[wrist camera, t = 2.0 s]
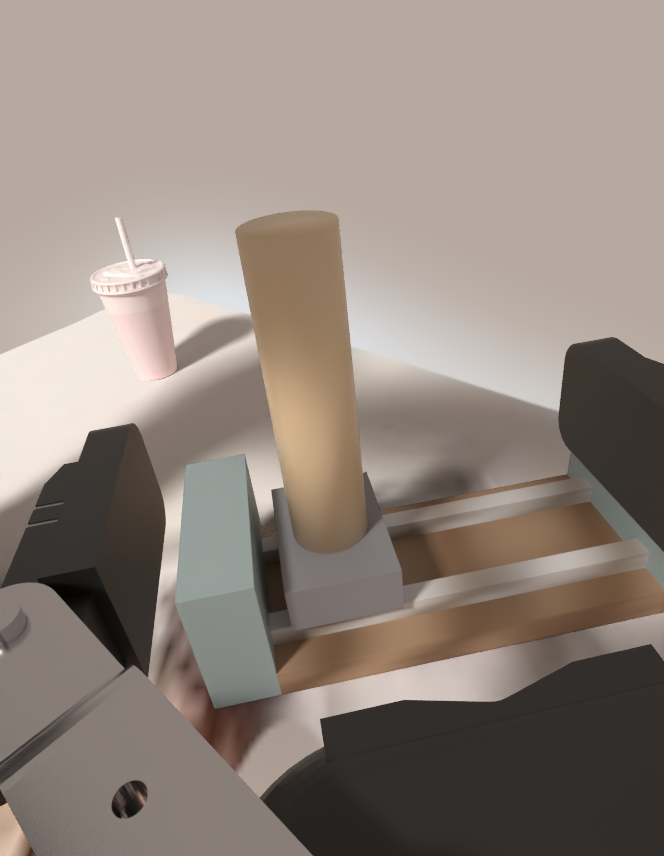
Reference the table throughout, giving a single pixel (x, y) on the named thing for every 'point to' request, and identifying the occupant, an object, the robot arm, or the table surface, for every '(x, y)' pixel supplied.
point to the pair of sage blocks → (247, 576)
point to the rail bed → (475, 583)
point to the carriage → (315, 423)
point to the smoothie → (139, 310)
